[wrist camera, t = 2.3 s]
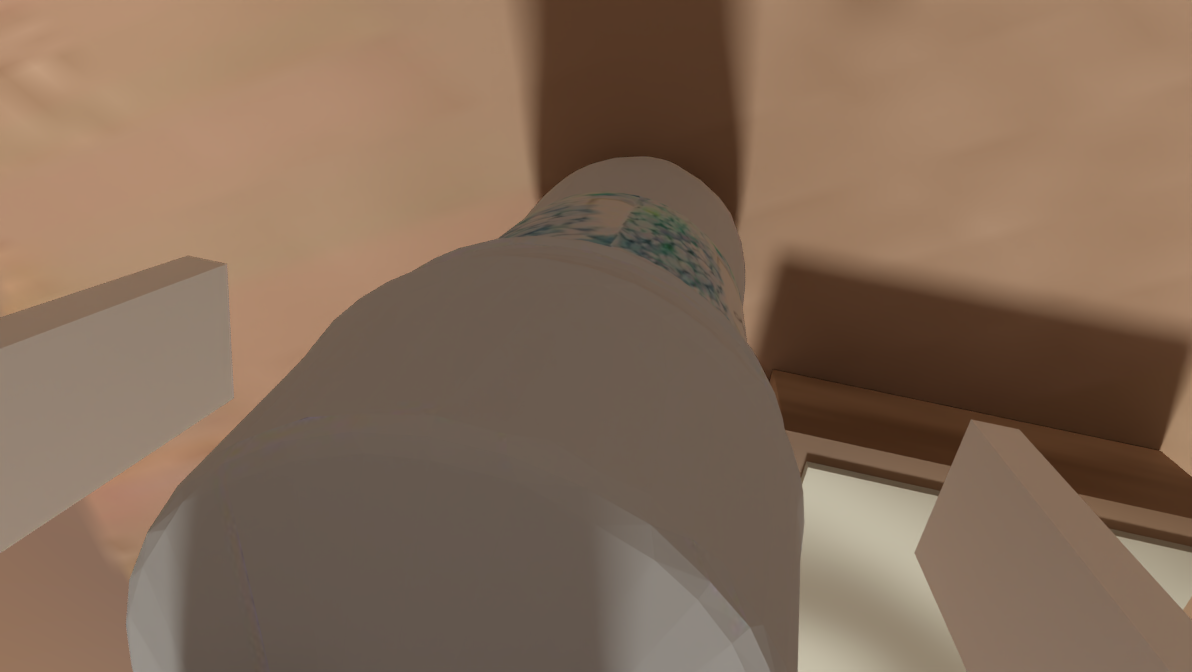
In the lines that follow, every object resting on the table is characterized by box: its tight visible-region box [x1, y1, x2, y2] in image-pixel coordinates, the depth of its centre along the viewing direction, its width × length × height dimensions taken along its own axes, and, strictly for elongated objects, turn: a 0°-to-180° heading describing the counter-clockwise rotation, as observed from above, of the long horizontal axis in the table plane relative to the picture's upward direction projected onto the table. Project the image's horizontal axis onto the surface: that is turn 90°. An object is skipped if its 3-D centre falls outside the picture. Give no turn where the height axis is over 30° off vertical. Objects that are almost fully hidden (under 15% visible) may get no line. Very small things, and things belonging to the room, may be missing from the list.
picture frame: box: [769, 370, 1192, 672], centre depth 21 cm, size 12×12×4 cm
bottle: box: [126, 156, 805, 672], centre depth 12 cm, size 7×7×20 cm
